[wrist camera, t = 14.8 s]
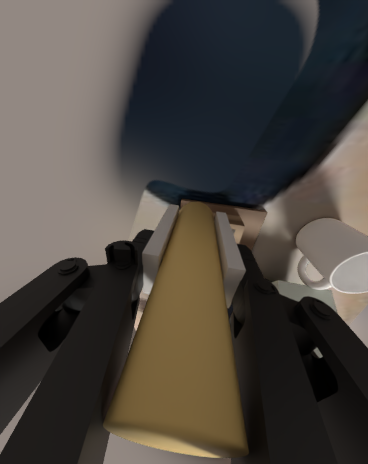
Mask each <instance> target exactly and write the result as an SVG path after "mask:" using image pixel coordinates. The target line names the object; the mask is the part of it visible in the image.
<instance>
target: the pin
mask: <svg viewBox="0 0 368 464" xmlns="http://www.w3.org/2000/svg"><path fill="white" fill-rule="evenodd" d="M103 427H104V428H105V429H106V430H107V431H109V432H111V433H112V434H115V435H117V436H119V437H122V438H124V439H127V440H129V441H133V442H136V443H139V444H143V445H146V446H150V447H153V448H158V449H162V450H166V451H171V452H176V453H183V454H189V455H195V456H204V457H214V458H239V457H244V456H246V455H248V454H249V449H248V443H247V436H246V430H245V423H244V416H243V410H242V403H241V397H240V390H239V383H238V377H237V370H236V363H235V357H234V350H233V344H232V337H231V330H230V324H229V317H228V311H227V304H226V297H225V291H224V284H223V278H222V271H221V264H220V258H219V251H218V244H217V238H216V231H215V225H214V218H213V213H212V211H211V209H210V208H209V207H208V206H207V205H206V204H204V203H201V202H190V203H187V204H186V205H184V206H183V207H182V208H181V209H180V211H179V214H178V217H177V219H176V222H175V225H174V228H173V231H172V233H171V236H170V239H169V242H168V245H167V247H166V250H165V253H164V256H163V259H162V261H161V264H160V267H159V270H158V272H157V275H156V278H155V281H154V283H153V286H152V289H151V292H150V295H149V297H148V300H147V303H146V306H145V309H144V311H143V314H142V317H141V320H140V322H139V325H138V328H137V331H136V334H135V337H134V339H133V342H132V345H131V348H130V351H129V353H128V356H127V359H126V361H125V364H124V367H123V370H122V373H121V375H120V378H119V381H118V384H117V387H116V389H115V392H114V395H113V398H112V400H111V403H110V406H109V409H108V412H107V414H106V417H105V420H104V423H103Z"/></svg>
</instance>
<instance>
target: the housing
mask: <svg viewBox="0 0 368 464" xmlns="http://www.w3.org/2000/svg"><path fill="white" fill-rule="evenodd" d="M271 283H272V284H273V285H274V286H275V287H276V288H277V290H278V291H279V294H281V295H283V296H286V297H288V298H291V299H293V300H295V301H298V302H299V301H300V300H301V299H302V298H303V297H305V296H310V297H314V298H317V299H319V300H321V301H323V302H324V303H326V304H327V305H329V306H330V307H331V308H332V309H333V310H334V311H335V312H336V313H337V310H336V306H335V302H334V298H333V294H332V291H331V290H326V289H324V290H316V289H312V288H310V287H309V286H306V285H300V284H295V283H290V282H285V281H280V280H277V281H274V282H271ZM337 314H338V313H337ZM314 352H315V353H316V355H317V356H318V357H320V358H321V357H323V356H322V354H321V353H320V351H319V350H318V348H316V349H315V350H314Z"/></svg>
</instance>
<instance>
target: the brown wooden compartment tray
mask: <svg viewBox="0 0 368 464" xmlns="http://www.w3.org/2000/svg"><path fill="white" fill-rule="evenodd" d="M190 202H201V203H204V204H206V205H207V206H208V207H209V208H210V209H211V211H212V213H213V218H214V220H215V216H216V212H223V213H226V215H227V218H228V221H229V223H230V226H231V229H232V232H233V235H234V238H235V241H236V243H237V244H242V245H246V246H247V247H248V248H249V249H250V250H252V248H253V246H254V243H255V241H256V239H257V236H258V234H259V231H260V229H261V227H262V224H263V222H264V220H265V217H266V215H267V212H266V211H265V210H258V209H251V208H244V207H237V206H230V205H223V204H216V203H209V202H202V201H195V200H188V199H182V200H181V208H182V207H183V206H184V205H186V204H187V203H190ZM181 208H180V209H181Z"/></svg>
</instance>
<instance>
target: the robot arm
mask: <svg viewBox="0 0 368 464" xmlns="http://www.w3.org/2000/svg"><path fill="white" fill-rule="evenodd" d="M178 209H179V206H178V205H171V204H170V205H169V207H168V208H167V210H166V212H165V214H164V215H163V217H162V219H161V221H160V222H159V224H158V226H157V228H156V229H155V231H152V230H146V229H144V230H142V231H140V232H139V233H138V234H137V235H136V237H135V238H134V239H133V241H132V242H131V241H117V242H113V243H111V244H109V245H108V246H107V247H106V248H105V251H106V256H107V262H108V263H107V264H106V265H95V266H88V264H87V262H86V260H84V259H82V258H68V259H65V260H62V261H60V262H58V263H56V264H54V265H53V266H52V267H50V268H49V269H47V270H46V271H45V272H43V273H42V274H40V275H39V276H38V277H36V278H35V279H33V280H32V281H31V282H29V283H28V284H26V285H25V286H24V287H22V288H21V289H19V290H18V291H17V292H15V293H14V294H12V295H11V296H10V297H8V298H7V299H5V300H4V301H3V302H1V303H0V434H1V433H2V432H3V430H4V429H5V428H6V426H7V425H8V423H9V422H10V421H11V420H12V418H13V417H14V416H15V414H16V413H17V412H18V411H19V409H20V408H21V407H22V405H23V404H24V403H25V401H26V400H27V399H28V397H29V396H30V394H31V393H32V392H33V391H34V389H35V388H36V387H37V385H38V384H39V383H40V381H41V380H42V381H41V383H40V385H39V386H38V388H37V390H36V392H35V394H34V395H33V397H32V399H31V401H30V402H29V404H28V406H27V408H26V409H25V411H24V413H23V415H22V417H21V419H20V420H19V422H18V424H17V426H16V427H15V429H14V431H13V433H12V434H11V436H10V438H9V440H8V442H7V443H6V445H5V447H4V449H3V450H2V452H1V454H0V464H103V461H104V456H105V452H106V448H107V443H108V439H109V434H110V432H109V431H107V430H106V429H105V428H104V427H103V423H104V420H105V417H106V414H107V412H108V409H109V406H110V403H111V400H112V398H113V395H114V392H115V389H116V387H117V384H118V381H119V378H120V375H121V373H122V370H123V367H124V364H125V361H126V359H127V355H128V350H129V346H130V341H131V337H132V332H133V328H134V324H135V319H136V315H137V310H138V306H139V301H140V297H139V295H140V292H141V290H142V288H143V293H144V294H150V292H151V289H152V286H153V283H154V281H155V278H156V275H157V272H158V270H159V267H160V264H161V261H162V259H163V256H164V253H165V250H166V247H167V245H168V242H169V239H170V236H171V233H172V231H173V228H174V225H175V222H176V219H177V217H178ZM214 225H215V231H216V238H217V244H218V251H219V258H220V264H221V271H222V278H223V284H224V291H225V297H226V304H227V308H229V307H230V305H231V303H232V304H233V312H232V314H231V316H230V318H229V324H230V323H231V337H232V344H233V350H234V357H235V363H236V370H237V377H238V383H239V390H240V397H241V403H242V410H243V416H244V423H245V430H246V436H247V443H248V449H249V454H248V455H246V456H244V457H239V458H231V464H368V348H367V347H366V346H365V345H364V344H363V342H362V341H361V340H360V339H359V338H358V337H357V335H356V334H355V333H354V332H353V331H352V330H351V329H350V327H349V326H348V325H347V324H346V323H345V322H344V321H343V320H342V318H341V317H340V316H339V315H338V314H337V313H336V312H335V311H334V310H333V309H332V308H331V307H330V306H329V305H327V304H326V303H324V302H323V301H321V300H319V299H317V298H314V297H310V296H305V297H303V298H302V299H301V300H300V301H299V302H298V301H295V300H293V299H291V298H288V297H286V296H283V295H281V294H279V291H278V290H277V288H276V287H275V286H274V285H273V284H272V283H271V282H270V281H268V280H267V279H264V277H263V275H262V273H261V271H260V269H259V267H258V264H257V262H256V260H255V258H254V257H253V254H252V252H251V250H250V249H249V248H248V247H247V246H246V245H242V244H237V243H236V241H235V238H234V235H233V232H232V229H231V226H230V223H229V221H228V218H227V215H226V213H223V212H216V216H215V220H214ZM316 348H318V350H319V351H320V353H321V354H322V356H323V357H321V358H320V357H318V356H317V355H316V353H315V352H314V350H315V349H316Z"/></svg>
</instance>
